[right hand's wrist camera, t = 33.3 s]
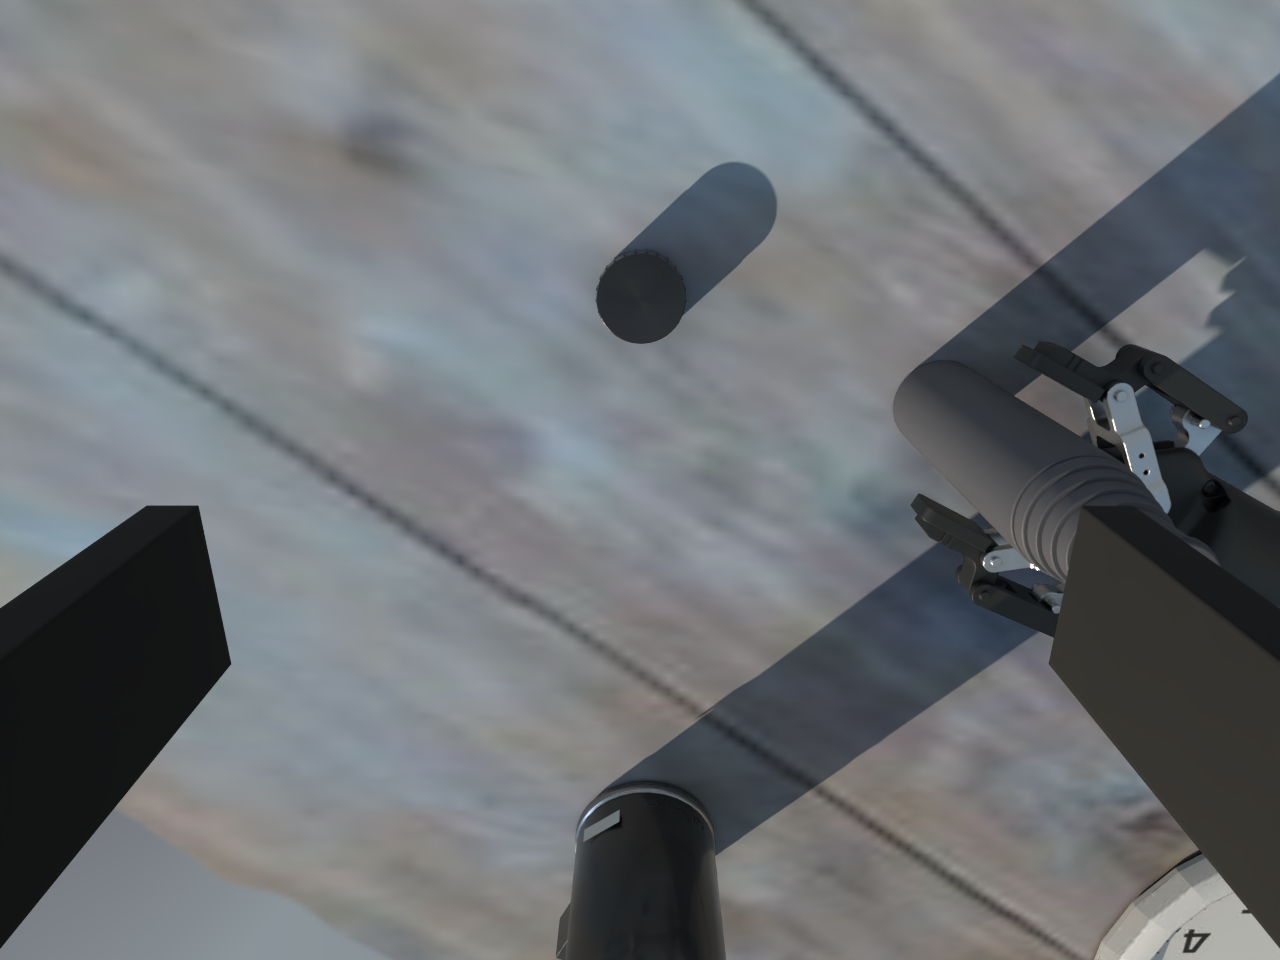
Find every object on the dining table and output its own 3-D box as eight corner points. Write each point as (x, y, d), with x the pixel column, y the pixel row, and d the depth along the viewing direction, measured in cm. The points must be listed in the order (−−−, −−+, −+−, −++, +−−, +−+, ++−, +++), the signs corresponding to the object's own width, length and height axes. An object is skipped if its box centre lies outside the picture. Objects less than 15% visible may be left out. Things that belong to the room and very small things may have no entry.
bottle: (928, 343, 45) (1164, 489, 25) (1001, 387, 46) (1287, 562, 25) (875, 420, 46) (1056, 616, 26) (946, 461, 47) (1175, 682, 27)
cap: (582, 315, 44) (580, 321, 43) (619, 233, 43) (618, 235, 41) (661, 352, 45) (661, 359, 43) (699, 272, 43) (702, 277, 42)
